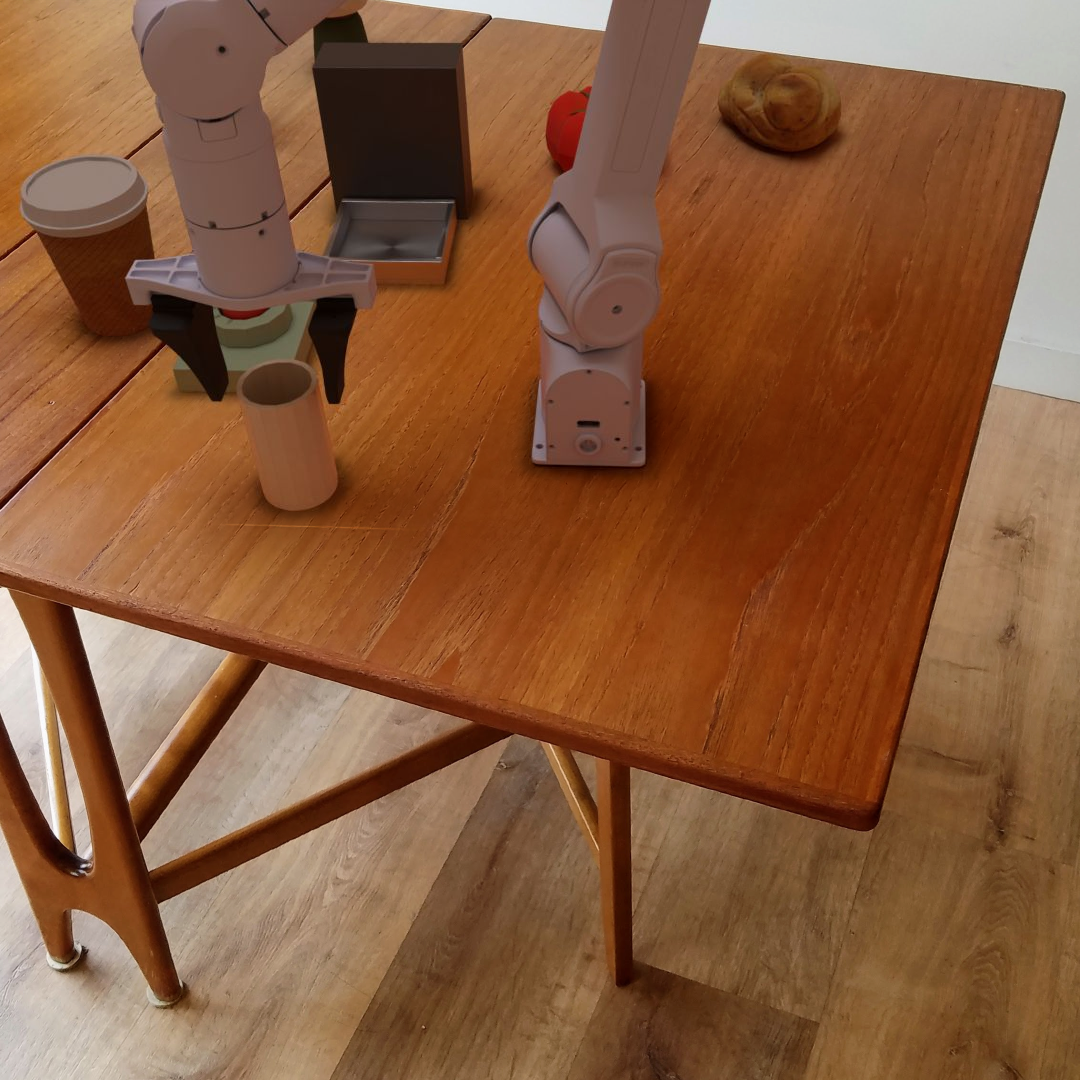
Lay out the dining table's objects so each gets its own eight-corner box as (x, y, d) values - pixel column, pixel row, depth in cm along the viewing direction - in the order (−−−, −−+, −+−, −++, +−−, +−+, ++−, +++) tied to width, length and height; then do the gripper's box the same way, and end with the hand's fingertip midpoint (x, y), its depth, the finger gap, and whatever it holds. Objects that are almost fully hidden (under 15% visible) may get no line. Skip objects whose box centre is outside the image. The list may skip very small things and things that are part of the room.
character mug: (390, 82, 125) (375, -46, 116) (326, 94, 123) (306, -34, 114) (361, 44, 132) (344, -79, 123) (300, 55, 130) (279, -68, 121)
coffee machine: (467, 220, 105) (455, 67, 95) (337, 219, 105) (311, 67, 95) (473, 192, 108) (462, 42, 98) (346, 191, 109) (323, 42, 99)
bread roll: (695, 121, 117) (700, 42, 111) (765, 94, 121) (774, 16, 115) (784, 171, 109) (796, 88, 104) (856, 140, 113) (871, 59, 108)
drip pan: (443, 285, 97) (441, 261, 96) (324, 283, 98) (320, 260, 96) (457, 222, 104) (455, 199, 103) (346, 220, 105) (342, 197, 103)
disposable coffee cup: (64, 358, 92) (11, 223, 83) (65, 293, 98) (16, 161, 89) (186, 336, 93) (146, 202, 84) (179, 274, 100) (141, 143, 91)
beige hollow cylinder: (330, 512, 79) (308, 409, 72) (255, 510, 79) (226, 408, 72) (344, 461, 82) (324, 359, 76) (272, 459, 82) (246, 357, 76)
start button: (263, 321, 88) (259, 302, 87) (217, 321, 88) (212, 301, 87) (274, 294, 91) (269, 275, 89) (229, 294, 91) (224, 275, 90)
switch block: (295, 394, 88) (285, 351, 85) (179, 392, 88) (166, 349, 85) (325, 303, 96) (317, 261, 93) (219, 302, 96) (208, 260, 94)
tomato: (665, 186, 108) (669, 119, 103) (548, 192, 108) (547, 125, 103) (652, 137, 115) (656, 72, 110) (543, 142, 115) (541, 77, 110)
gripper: (372, 169, 67) (398, 357, 77) (130, 166, 68) (185, 353, 78) (351, 233, 62) (381, 426, 72) (90, 230, 63) (155, 420, 73)
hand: (278, 393), depth 75 cm, fingers open, 7 cm apart
